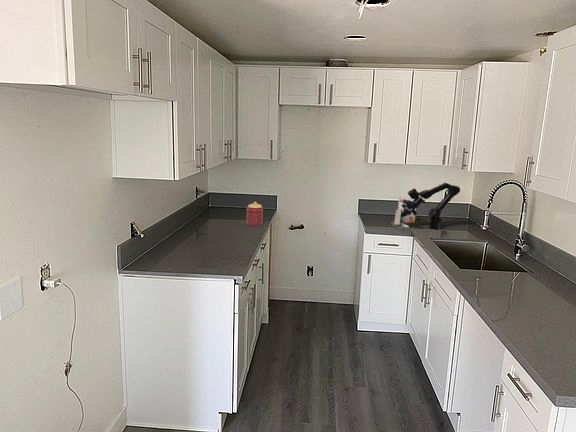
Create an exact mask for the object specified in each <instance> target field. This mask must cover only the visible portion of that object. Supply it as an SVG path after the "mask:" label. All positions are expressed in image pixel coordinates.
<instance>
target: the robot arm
mask: <svg viewBox="0 0 576 432" xmlns="http://www.w3.org/2000/svg"><path fill="white" fill-rule="evenodd" d="M443 190H447V193H446V195H445V196H444V197H443V198H442V200H441V201H440V202H439V204H437V206H436V207H435V208H433V207H432V208H431V209H430V210H429V211H428V217H429V220H430V222H429V227H428V229H430V230H431V229H432V230H440V229H441V227H440V223H441V222H442V218H440V216H441V212H442V211H443V209H444V208H445V207H446V206H447V205H448V203H449V202H450V201H451V200H452V199H453V198H454V197H455V196H457V195H458V194H459V193H460V192H461V188H460V186H457V185H452V184H451V183H450V184H449V183H448V182H443V183H442V184H439V185H437V186H435V187H433V188H430V189H424V190H422V191H420V192H418V191H417V189H416V188H412V189H410V190H409V191H407V196H409V198H412V199H414V200H413V201H410V200H408V201H407V200H405V199H404V200H403V202H402V203H404V204H402V205H401V206H402V207H403V208H404V211H403V213H402V214H401V217H405V216H408V215H411V213H413V215H415V216H416V215H417V214H418V213H417V209H418V208H419V206H420V205H421V204H422V203H423V204H426V200H428V199H430V198H431V197H432V196H433V195H435V194H436V193H440V192H442V191H443ZM405 204H406V205H405ZM414 209H416V211H415V210H414Z"/></svg>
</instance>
